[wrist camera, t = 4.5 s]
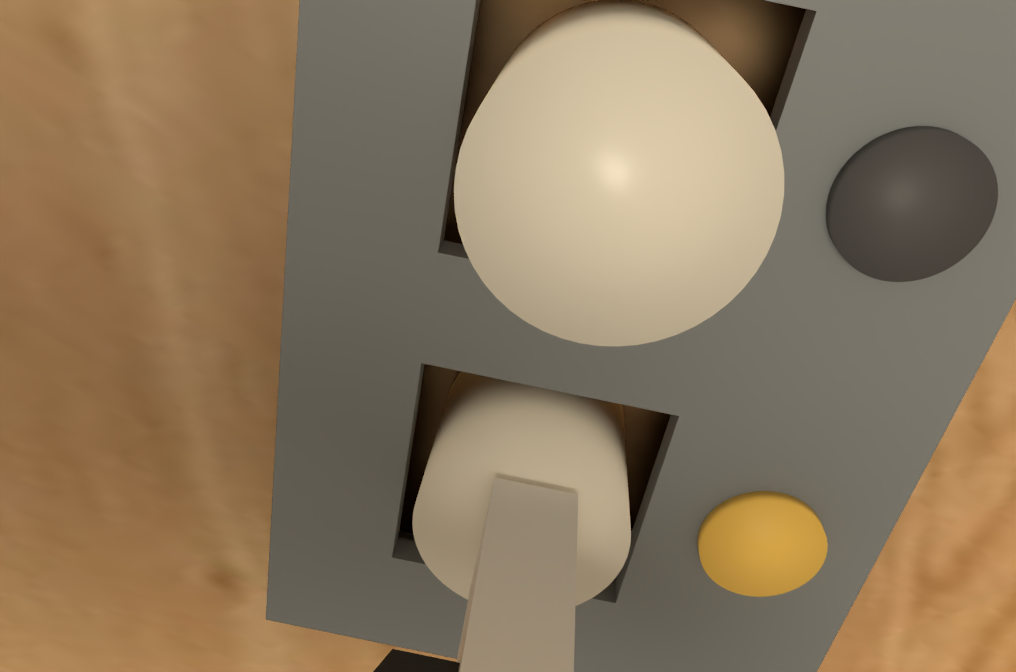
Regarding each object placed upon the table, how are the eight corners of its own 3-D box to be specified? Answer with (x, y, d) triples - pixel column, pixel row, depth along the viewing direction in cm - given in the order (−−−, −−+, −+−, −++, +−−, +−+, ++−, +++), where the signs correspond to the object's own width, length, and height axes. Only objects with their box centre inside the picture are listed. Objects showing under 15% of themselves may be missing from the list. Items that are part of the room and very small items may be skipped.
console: (307, 530, 21) (260, 629, 18) (433, -992, 10) (363, -1396, 7) (762, 623, 21) (790, 738, 18) (1420, -787, 10) (1787, -1098, 7)
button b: (471, 220, 14) (433, 312, 11) (512, -25, 12) (481, -5, 9) (693, 265, 14) (725, 373, 11) (768, 28, 12) (835, 69, 9)
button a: (434, 471, 19) (400, 590, 16) (460, 324, 17) (427, 422, 14) (600, 506, 19) (602, 631, 16) (644, 362, 17) (657, 469, 14)
